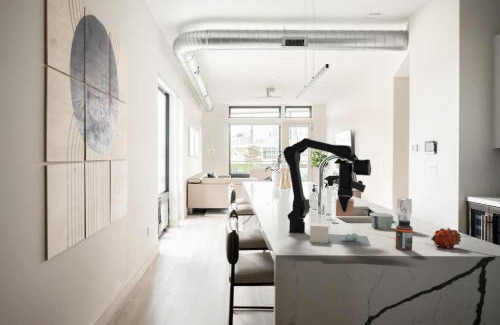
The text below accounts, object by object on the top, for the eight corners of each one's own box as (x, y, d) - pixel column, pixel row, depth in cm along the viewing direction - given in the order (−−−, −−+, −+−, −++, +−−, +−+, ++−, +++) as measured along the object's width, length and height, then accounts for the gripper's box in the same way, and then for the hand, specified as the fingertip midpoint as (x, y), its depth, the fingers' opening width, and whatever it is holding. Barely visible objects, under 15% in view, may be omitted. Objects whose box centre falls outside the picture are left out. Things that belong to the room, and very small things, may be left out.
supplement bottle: (392, 248, 160) (393, 219, 159) (407, 248, 160) (408, 219, 160) (399, 251, 154) (400, 221, 153) (415, 251, 154) (415, 221, 154)
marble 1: (345, 241, 168) (345, 234, 168) (344, 240, 171) (345, 233, 170) (352, 242, 167) (352, 235, 167) (352, 240, 170) (352, 233, 170)
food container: (389, 230, 199) (389, 216, 199) (365, 227, 206) (365, 214, 206) (397, 227, 209) (397, 214, 208) (374, 224, 216) (374, 212, 216)
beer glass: (412, 231, 197) (413, 200, 197) (397, 230, 199) (398, 199, 198) (409, 228, 204) (410, 198, 204) (395, 228, 206) (395, 198, 205)
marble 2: (350, 241, 169) (350, 233, 169) (350, 239, 172) (350, 232, 172) (358, 241, 169) (358, 234, 169) (357, 240, 172) (358, 232, 172)
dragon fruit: (463, 252, 162) (433, 256, 161) (453, 236, 169) (424, 240, 168) (468, 237, 157) (437, 241, 156) (457, 221, 163) (427, 225, 163)
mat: (308, 243, 165) (308, 242, 165) (311, 233, 186) (311, 232, 186) (370, 247, 160) (370, 246, 160) (367, 237, 181) (367, 236, 181)
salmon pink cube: (335, 215, 175) (336, 199, 175) (336, 212, 182) (336, 198, 182) (353, 216, 173) (353, 200, 173) (352, 213, 180) (353, 199, 180)
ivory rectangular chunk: (309, 241, 167) (310, 225, 167) (311, 238, 174) (311, 222, 174) (328, 242, 165) (328, 226, 165) (328, 239, 172) (328, 223, 172)
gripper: (366, 176, 166) (364, 214, 167) (363, 174, 185) (362, 209, 185) (338, 175, 169) (336, 213, 169) (338, 173, 187) (337, 207, 187)
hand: (344, 210), depth 178 cm, fingers closed on salmon pink cube, 7 cm apart
